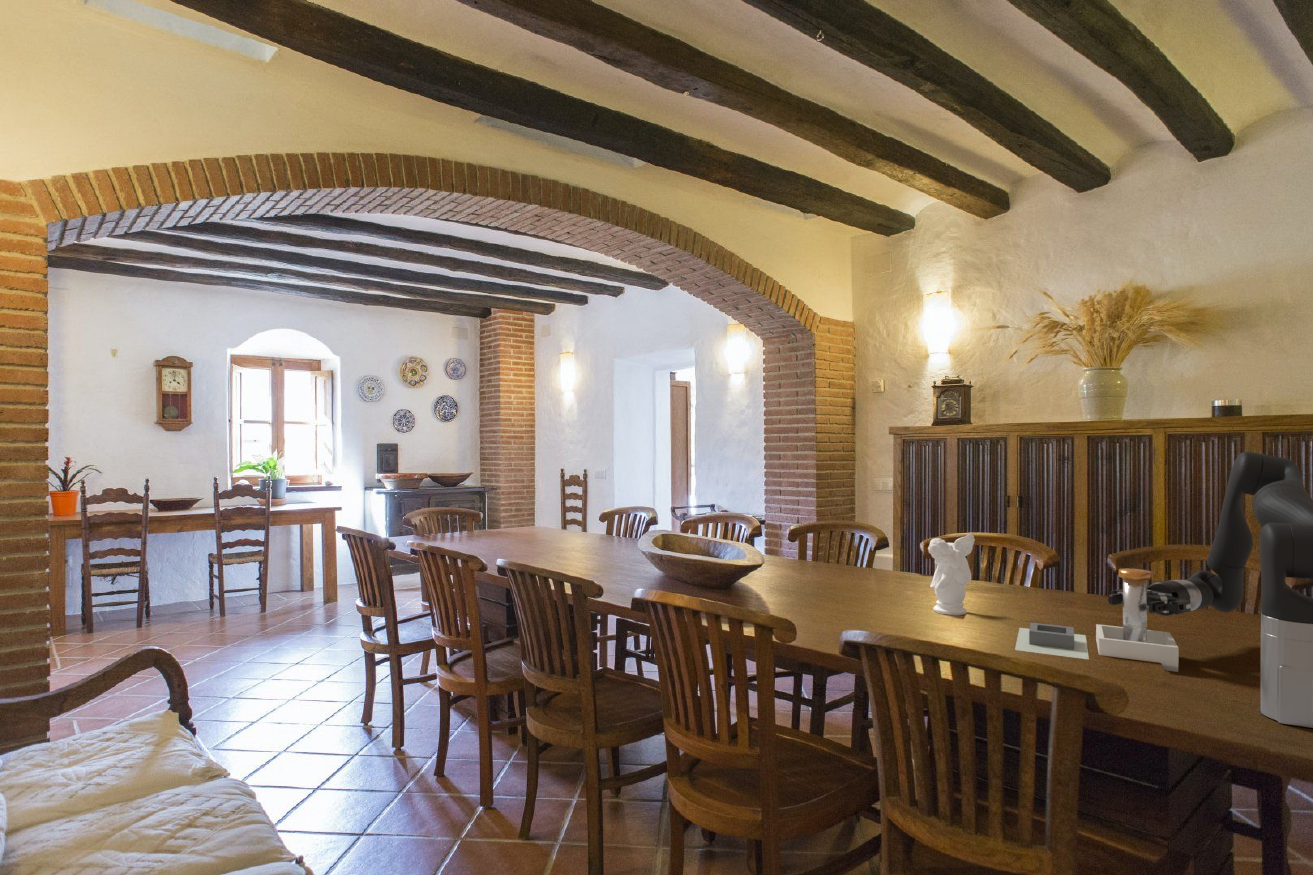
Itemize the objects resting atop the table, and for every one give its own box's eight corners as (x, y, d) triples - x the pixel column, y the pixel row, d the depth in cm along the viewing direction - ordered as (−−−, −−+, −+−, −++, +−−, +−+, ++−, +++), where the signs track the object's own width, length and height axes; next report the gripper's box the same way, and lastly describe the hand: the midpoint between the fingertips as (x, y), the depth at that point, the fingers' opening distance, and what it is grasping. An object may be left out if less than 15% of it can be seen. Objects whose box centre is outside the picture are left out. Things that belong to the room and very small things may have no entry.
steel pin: (1152, 658, 157) (1152, 574, 157) (1119, 654, 160) (1119, 571, 160) (1149, 651, 163) (1149, 569, 163) (1117, 648, 166) (1117, 567, 166)
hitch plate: (1088, 666, 155) (1089, 645, 155) (1014, 656, 162) (1014, 636, 162) (1085, 641, 174) (1085, 622, 174) (1019, 633, 181) (1019, 615, 181)
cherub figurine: (929, 614, 201) (928, 533, 202) (927, 604, 213) (926, 528, 213) (977, 617, 198) (976, 534, 198) (973, 607, 209) (972, 529, 210)
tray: (1178, 671, 152) (1178, 647, 152) (1098, 661, 159) (1099, 638, 159) (1169, 654, 164) (1169, 632, 164) (1096, 645, 171) (1096, 624, 171)
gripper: (1141, 575, 174) (1097, 580, 167) (1208, 586, 161) (1164, 592, 154) (1141, 607, 174) (1097, 614, 167) (1208, 620, 161) (1164, 628, 154)
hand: (1130, 603), depth 161 cm, fingers open, 8 cm apart
